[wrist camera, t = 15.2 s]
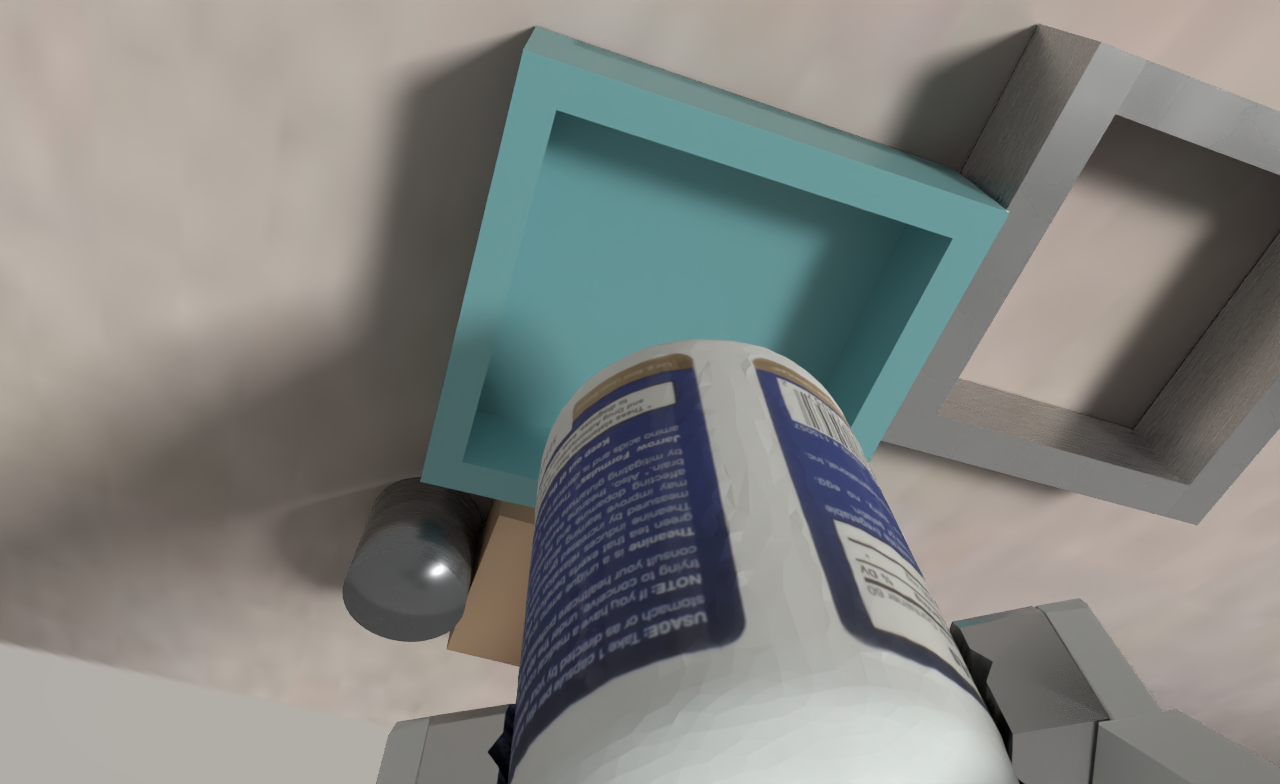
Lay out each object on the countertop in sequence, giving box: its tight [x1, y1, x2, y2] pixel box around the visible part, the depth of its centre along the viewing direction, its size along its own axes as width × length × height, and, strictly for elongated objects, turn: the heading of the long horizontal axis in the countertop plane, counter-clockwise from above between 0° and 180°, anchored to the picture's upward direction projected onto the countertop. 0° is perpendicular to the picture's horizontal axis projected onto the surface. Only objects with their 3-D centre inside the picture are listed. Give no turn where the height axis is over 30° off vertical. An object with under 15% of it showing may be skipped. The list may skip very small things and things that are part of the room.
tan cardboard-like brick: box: [447, 499, 535, 667], centre depth 23 cm, size 7×5×2 cm
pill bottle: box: [508, 339, 1019, 784], centre depth 10 cm, size 5×5×10 cm
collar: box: [881, 24, 1280, 525], centre depth 19 cm, size 9×9×2 cm
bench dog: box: [343, 478, 481, 642], centre depth 22 cm, size 3×3×3 cm
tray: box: [420, 26, 1010, 508], centre depth 19 cm, size 10×10×3 cm
